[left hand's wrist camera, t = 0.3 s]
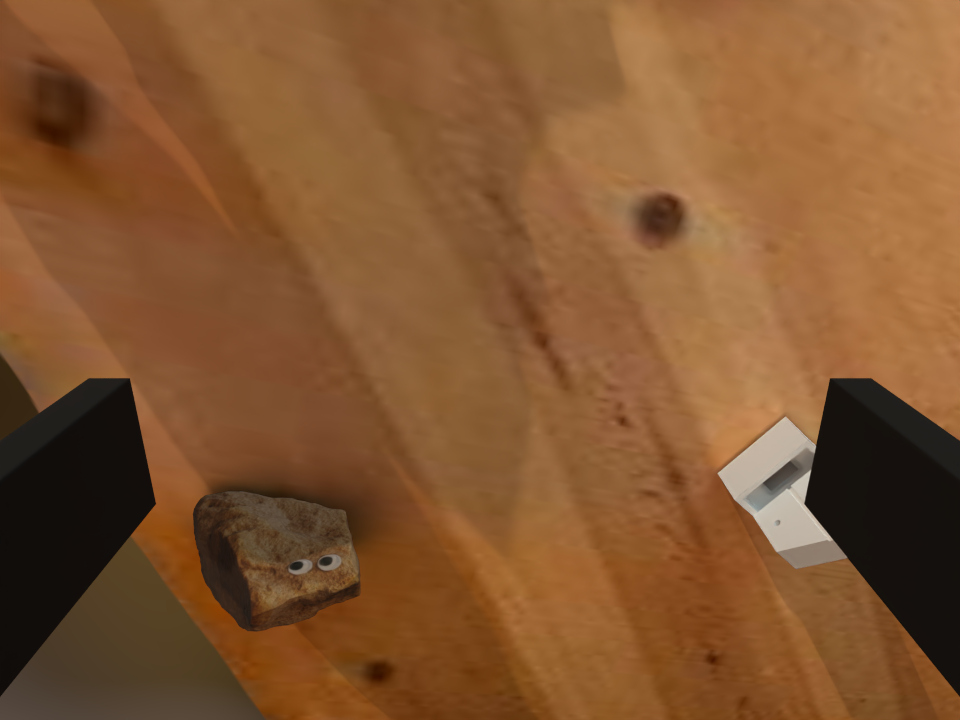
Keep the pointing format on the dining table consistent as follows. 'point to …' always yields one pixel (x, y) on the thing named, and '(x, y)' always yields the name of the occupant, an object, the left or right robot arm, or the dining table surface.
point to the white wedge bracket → (781, 494)
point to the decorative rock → (274, 557)
